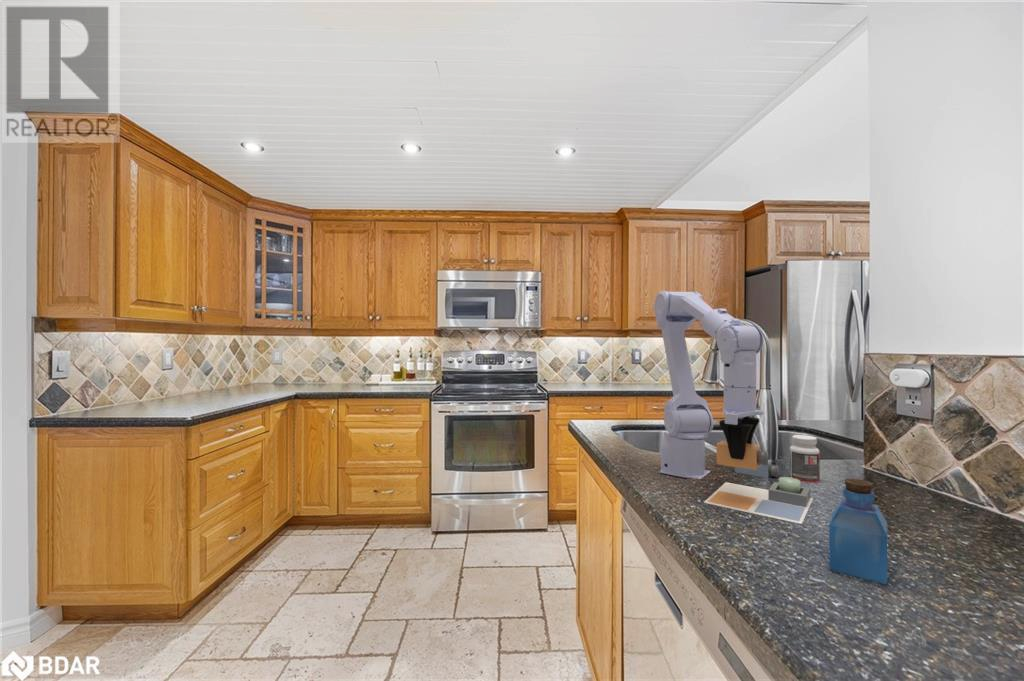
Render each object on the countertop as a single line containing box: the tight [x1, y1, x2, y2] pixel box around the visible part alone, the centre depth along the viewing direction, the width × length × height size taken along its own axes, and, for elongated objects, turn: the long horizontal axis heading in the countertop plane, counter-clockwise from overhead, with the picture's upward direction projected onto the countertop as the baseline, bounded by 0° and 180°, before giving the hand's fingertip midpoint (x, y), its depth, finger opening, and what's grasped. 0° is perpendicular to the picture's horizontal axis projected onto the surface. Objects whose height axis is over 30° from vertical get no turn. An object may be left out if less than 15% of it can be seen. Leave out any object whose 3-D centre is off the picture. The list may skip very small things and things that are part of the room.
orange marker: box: [716, 439, 769, 470], centre depth 89 cm, size 8×4×4 cm, turn 51°
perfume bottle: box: [828, 478, 888, 586], centre depth 63 cm, size 6×6×12 cm
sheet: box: [703, 481, 814, 525], centre depth 88 cm, size 16×16×1 cm
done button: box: [778, 476, 801, 493], centre depth 89 cm, size 4×4×2 cm
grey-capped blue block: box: [734, 459, 779, 479], centre depth 106 cm, size 8×4×4 cm, turn 50°
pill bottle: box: [789, 434, 821, 484], centre depth 102 cm, size 6×6×10 cm
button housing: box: [767, 481, 811, 507], centre depth 89 cm, size 6×6×2 cm
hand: (739, 456), depth 89 cm, fingers closed on orange marker, 4 cm apart
